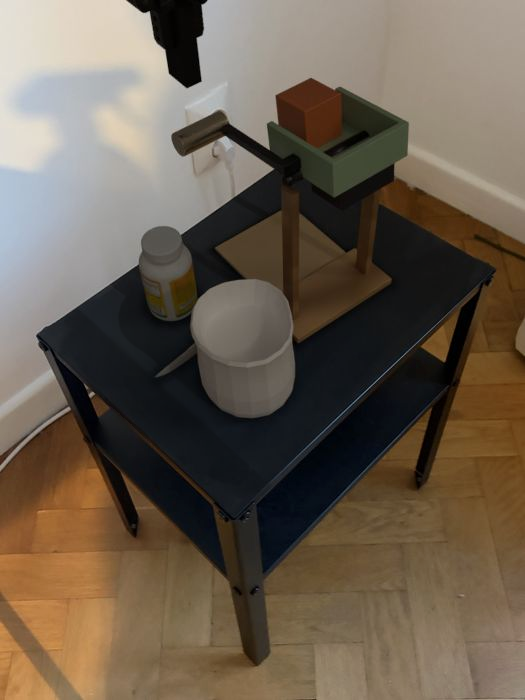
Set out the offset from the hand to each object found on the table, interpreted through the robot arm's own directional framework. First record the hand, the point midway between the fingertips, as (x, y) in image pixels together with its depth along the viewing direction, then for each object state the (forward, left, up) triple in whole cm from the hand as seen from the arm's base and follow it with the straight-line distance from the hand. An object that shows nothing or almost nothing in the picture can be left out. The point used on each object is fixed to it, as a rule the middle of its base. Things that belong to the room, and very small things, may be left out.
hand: (185, 77), depth 60 cm
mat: (-1, -8, -25) cm, 26 cm away
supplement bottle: (0, +5, -25) cm, 26 cm away
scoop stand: (-10, -8, -25) cm, 28 cm away
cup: (-13, +5, -25) cm, 29 cm away
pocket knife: (-7, +6, -25) cm, 27 cm away
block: (-8, -8, -4) cm, 12 cm away
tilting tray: (-7, -6, -9) cm, 13 cm away
